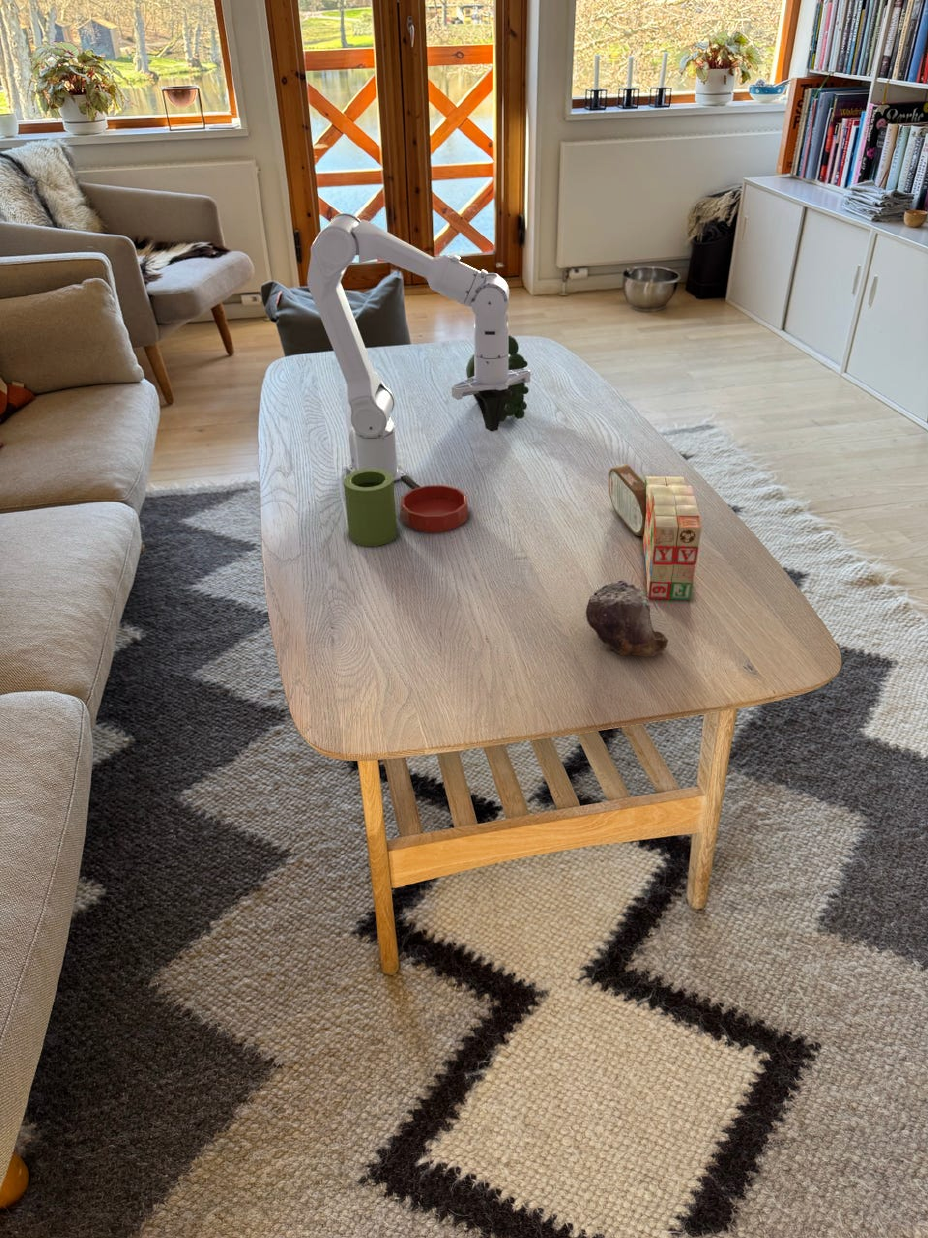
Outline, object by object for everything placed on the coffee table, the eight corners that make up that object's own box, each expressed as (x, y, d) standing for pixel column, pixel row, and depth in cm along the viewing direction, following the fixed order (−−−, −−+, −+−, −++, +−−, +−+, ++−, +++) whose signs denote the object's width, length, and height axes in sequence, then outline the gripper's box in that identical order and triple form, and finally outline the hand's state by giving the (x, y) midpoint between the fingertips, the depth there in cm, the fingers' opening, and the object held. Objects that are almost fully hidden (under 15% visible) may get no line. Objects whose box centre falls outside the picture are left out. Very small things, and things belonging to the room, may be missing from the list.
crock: (341, 530, 156) (335, 475, 150) (384, 518, 159) (379, 464, 153) (361, 551, 150) (356, 495, 144) (405, 538, 153) (401, 482, 148)
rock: (636, 623, 134) (570, 635, 132) (638, 568, 131) (571, 579, 128) (676, 660, 124) (606, 673, 122) (679, 601, 121) (607, 614, 118)
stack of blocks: (640, 526, 155) (647, 457, 148) (679, 527, 154) (687, 458, 147) (647, 599, 137) (655, 525, 130) (691, 601, 137) (702, 526, 130)
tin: (657, 542, 150) (661, 495, 145) (639, 546, 149) (642, 498, 145) (621, 500, 162) (623, 455, 157) (604, 503, 161) (606, 458, 156)
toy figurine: (538, 434, 189) (497, 380, 207) (543, 344, 176) (499, 295, 195) (493, 441, 186) (456, 386, 205) (496, 351, 174) (456, 301, 192)
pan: (479, 521, 157) (479, 505, 156) (421, 538, 153) (420, 522, 151) (431, 481, 169) (431, 466, 168) (376, 497, 165) (375, 481, 163)
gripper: (465, 368, 151) (467, 446, 159) (540, 351, 157) (539, 427, 165) (444, 355, 156) (447, 432, 164) (518, 339, 162) (517, 413, 170)
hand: (491, 428), depth 165 cm, fingers closed
